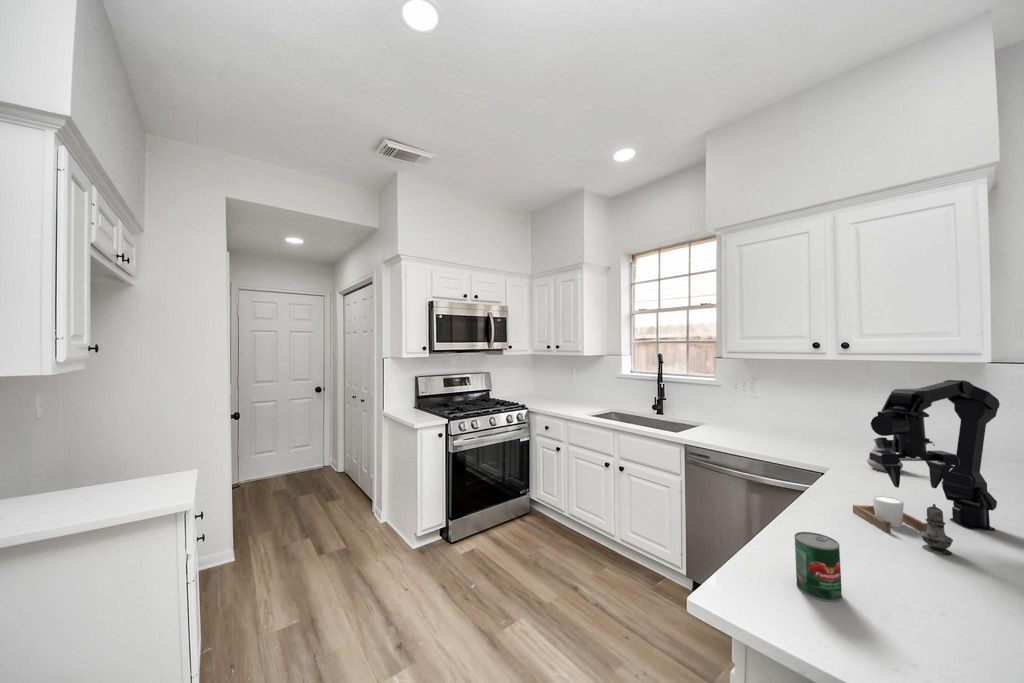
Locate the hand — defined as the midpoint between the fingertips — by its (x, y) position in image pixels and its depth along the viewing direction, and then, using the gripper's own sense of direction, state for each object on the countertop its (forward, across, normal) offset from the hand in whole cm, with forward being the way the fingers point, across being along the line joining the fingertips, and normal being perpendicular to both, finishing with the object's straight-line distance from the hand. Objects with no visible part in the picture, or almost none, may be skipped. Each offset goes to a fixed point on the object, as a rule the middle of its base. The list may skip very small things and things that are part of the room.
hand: (915, 487), depth 112 cm
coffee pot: (+14, -38, -62) cm, 74 cm away
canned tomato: (+12, +44, +35) cm, 57 cm away
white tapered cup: (+13, +4, -6) cm, 14 cm away
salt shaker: (+13, +4, +11) cm, 17 cm away
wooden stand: (+12, +4, -5) cm, 14 cm away
